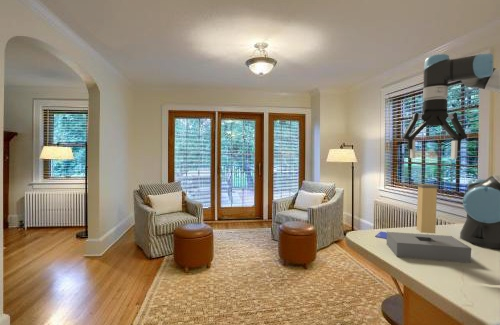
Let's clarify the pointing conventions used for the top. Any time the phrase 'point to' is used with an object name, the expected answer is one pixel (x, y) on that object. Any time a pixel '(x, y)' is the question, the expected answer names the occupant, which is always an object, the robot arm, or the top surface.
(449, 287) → the top surface
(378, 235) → the hard drive
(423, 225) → the plug
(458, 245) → the socket block
